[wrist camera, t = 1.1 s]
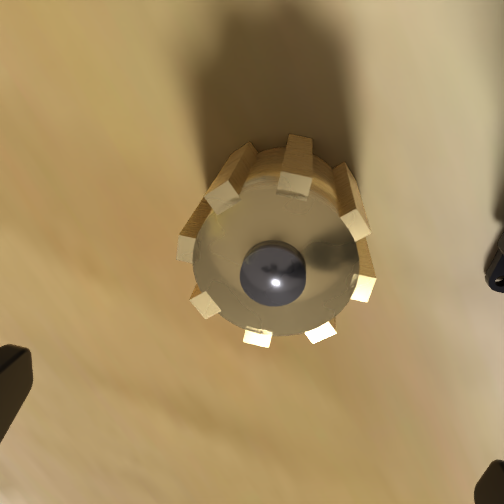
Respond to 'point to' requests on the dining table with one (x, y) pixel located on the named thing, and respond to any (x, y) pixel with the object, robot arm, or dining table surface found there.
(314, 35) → the dining table surface
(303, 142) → the gear
